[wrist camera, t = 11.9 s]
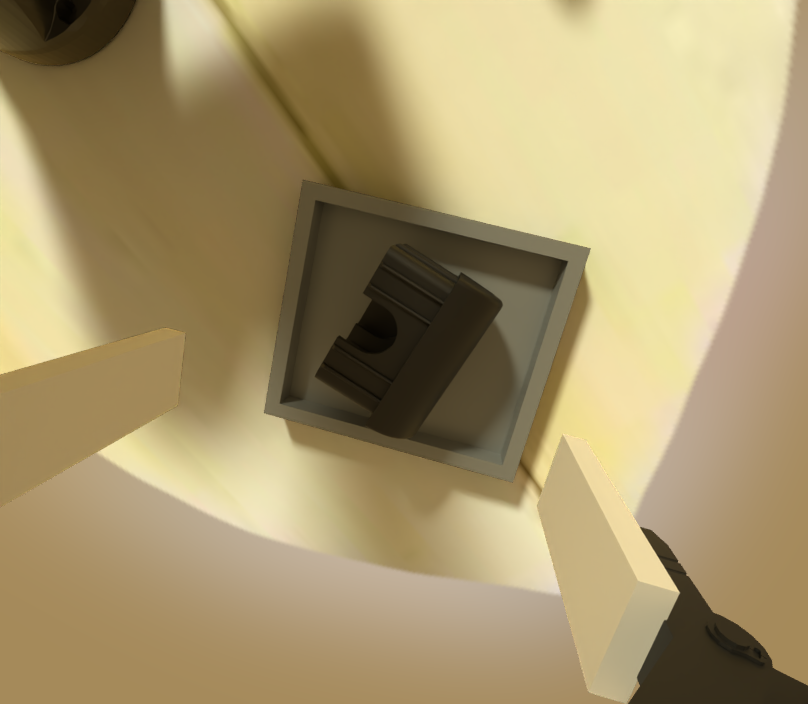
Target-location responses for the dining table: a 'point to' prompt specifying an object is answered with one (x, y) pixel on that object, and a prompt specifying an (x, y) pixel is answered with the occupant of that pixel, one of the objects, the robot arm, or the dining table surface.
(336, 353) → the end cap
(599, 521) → the robot arm
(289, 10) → the dining table surface
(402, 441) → the seat tray
